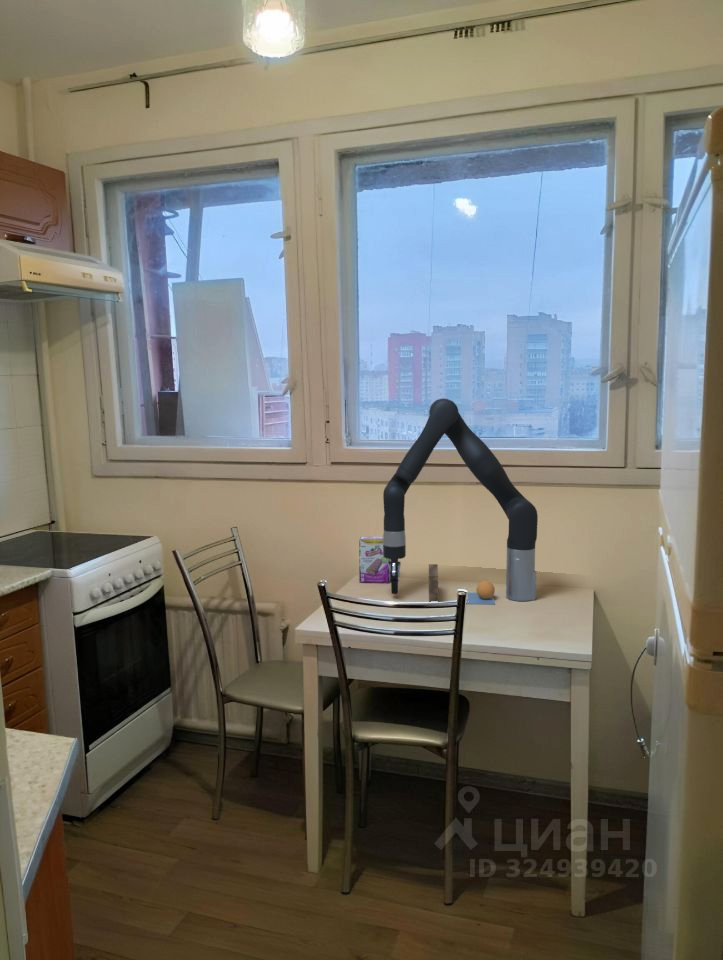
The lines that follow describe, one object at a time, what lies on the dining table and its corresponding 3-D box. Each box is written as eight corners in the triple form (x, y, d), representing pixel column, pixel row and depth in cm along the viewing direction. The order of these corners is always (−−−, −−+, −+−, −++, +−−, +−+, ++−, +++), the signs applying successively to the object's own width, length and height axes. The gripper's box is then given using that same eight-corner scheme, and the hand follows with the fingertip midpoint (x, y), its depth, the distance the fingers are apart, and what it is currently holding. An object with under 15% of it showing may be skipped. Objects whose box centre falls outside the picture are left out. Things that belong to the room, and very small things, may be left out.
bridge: (437, 591, 245) (437, 564, 243) (438, 605, 230) (438, 576, 229) (428, 591, 245) (428, 564, 244) (429, 604, 230) (429, 576, 229)
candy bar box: (359, 583, 256) (358, 539, 254) (360, 579, 261) (360, 536, 259) (390, 583, 255) (389, 539, 253) (390, 579, 260) (390, 536, 258)
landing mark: (491, 593, 242) (491, 592, 242) (495, 604, 230) (495, 603, 230) (456, 593, 243) (456, 592, 243) (458, 603, 231) (458, 603, 231)
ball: (492, 577, 238) (474, 580, 238) (494, 582, 232) (475, 585, 232) (495, 594, 238) (477, 597, 239) (496, 600, 232) (478, 602, 233)
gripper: (404, 547, 229) (405, 599, 232) (406, 538, 242) (406, 587, 245) (381, 547, 230) (382, 599, 232) (384, 538, 243) (384, 587, 245)
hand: (394, 593), depth 238 cm, fingers closed
